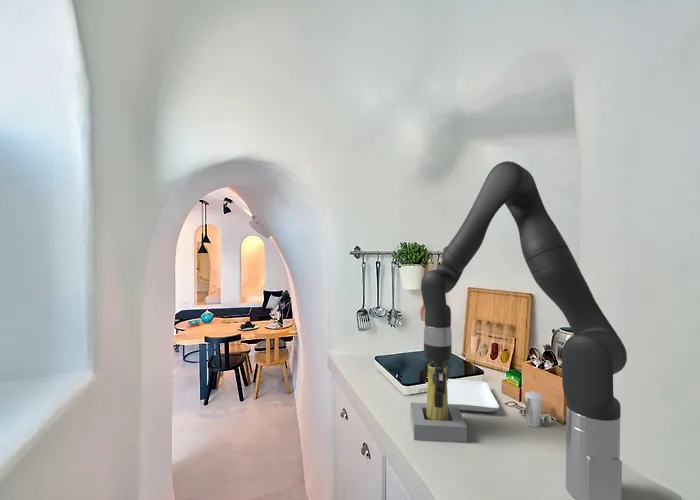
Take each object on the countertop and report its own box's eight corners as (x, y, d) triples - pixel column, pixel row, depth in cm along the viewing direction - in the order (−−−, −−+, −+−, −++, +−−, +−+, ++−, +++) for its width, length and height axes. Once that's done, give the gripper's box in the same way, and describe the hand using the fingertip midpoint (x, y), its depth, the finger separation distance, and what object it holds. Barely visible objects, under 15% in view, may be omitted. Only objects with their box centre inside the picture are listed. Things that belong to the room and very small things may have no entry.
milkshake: (547, 429, 102) (547, 393, 101) (526, 427, 103) (527, 392, 102) (542, 421, 106) (542, 387, 106) (522, 419, 107) (522, 385, 107)
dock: (466, 442, 95) (467, 427, 95) (414, 439, 96) (414, 424, 96) (456, 418, 108) (457, 404, 108) (410, 415, 109) (410, 402, 109)
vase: (432, 422, 98) (432, 369, 98) (422, 412, 104) (422, 362, 104) (452, 420, 100) (453, 367, 100) (441, 410, 106) (441, 360, 106)
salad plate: (500, 418, 109) (500, 406, 109) (427, 412, 112) (427, 401, 112) (486, 390, 130) (486, 380, 130) (425, 386, 133) (425, 377, 133)
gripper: (456, 349, 94) (455, 414, 95) (447, 335, 109) (446, 392, 109) (426, 348, 95) (426, 413, 95) (421, 334, 109) (421, 391, 110)
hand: (437, 401), depth 102 cm, fingers closed on vase, 5 cm apart
